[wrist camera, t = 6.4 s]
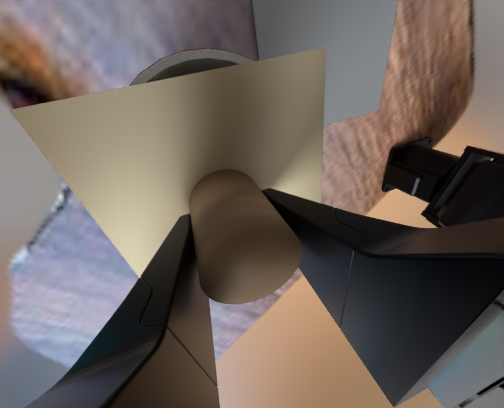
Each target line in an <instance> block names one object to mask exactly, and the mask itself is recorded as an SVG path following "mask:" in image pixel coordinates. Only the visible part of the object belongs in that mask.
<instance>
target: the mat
mask: <svg viewBox="0 0 504 408" xmlns="http://www.w3.org/2000/svg"><path fill="white" fill-rule="evenodd" d="M397 4H398V0H252V9H253V17H254V26H255V34H256V43H257V51H258V60H264V59H269V58H274V57H279V56H284V55H289V54H294V53H299V52H304V51H309V50H314V49H319V48H325V47H326V73H325V100H324V125H327V124H331V123H335V122H338V121H342V120H346V119H349V118H353V117H357V116H360V115H364V114H368V113H371V112H375V111H378V110H379V105H380V99H381V94H382V88H383V82H384V77H385V71H386V65H387V60H388V54H389V49H390V43H391V37H392V32H393V26H394V20H395V15H396V9H397Z"/></svg>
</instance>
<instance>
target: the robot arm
mask: <svg viewBox="0 0 504 408" xmlns="http://www.w3.org/2000/svg"><path fill="white" fill-rule="evenodd" d="M432 142H433V138H432V137H426V138H423V139H420V140H417V141H414V142H411V143H407V144H404V145H401V146H398V147H395V148H393V149H392V150H391V152H390V156H389V160H388V164H387V169H386V173H385V177H384V182H383V186H382V191H384V192H388V191H391V190H393V189H396V188H397V189H399V190H401V191H403V192H405V193H407V194H409V195H411V196H415V197H417V198H419V199H421V200H423V201H425V202H427V203H429V204H428V206H427V207H426V209H425V210H424V211H423V212H422V213H421V215H423V216H424V217H426V219H427V220H428V221H429V222H431V223H432V224H434V225H435V226H436V227H438V228H417V227H412V226H407V225H402V224H398V223H393V222H389V221H385V220H380V219H376V218H372V217H367V216H363V215H359V214H355V213H352V212H348V211H345V210H341V209H338V208H334V207H331V206H328V205H325V204H321V203H318V202H315V201H312V200H308V199H305V198H302V197H298V196H295V195H292V194H288V193H285V192H282V191H278V190H275V189H272V188H267V189H264V190H262V192H263V194H264V195H265V196H266V198H267V199H268V200H269V201H270V203H271V204H272V205H273V206H274V208H275V209H276V210H277V212H278V213H279V214H280V215H281V217H282V218H283V219H284V221H285V222H286V223H287V224H288V226H289V227H290V228H291V230H292V231H293V232H294V233H295V235H296V236H297V237H298V239H299V241H300V243H301V247H302V256H301V260H300V263H299V265H298V267H299V269H300V270H301V272H302V273H303V275H304V276H305V278H306V279H307V281H308V282H309V283H310V285H311V286H312V288H313V289H314V291H315V292H316V294H317V295H318V297H319V298H320V300H321V301H322V303H323V304H324V305H325V307H326V308H327V310H328V311H329V313H330V314H331V316H332V317H333V319H334V320H335V322H336V323H337V325H338V326H339V327H340V328H341V331H342V332H343V334H344V335H345V337H346V338H347V340H348V341H349V343H350V344H351V346H352V347H353V349H354V350H355V351H356V353H357V354H358V356H359V357H360V359H361V360H362V362H363V363H364V365H365V366H366V368H367V369H368V371H369V372H370V374H371V375H372V376H373V378H374V380H375V381H376V382H377V384H378V385H379V387H380V388H381V390H382V391H383V393H384V394H385V395H386V397H387V399H388V400H389V402H390V403H391V404H392V406H393V407H396V406H398V405H399V404H401V403H403V402H404V401H406V400H408V399H409V398H411V397H413V396H414V395H416V394H418V393H420V392H421V391H423V390H425V389H426V388H428V389H429V390H430V391H431V393H432V394H433V395H434V396H435V397H436V398H437V400H438V401H439V402H440V403H441V405H442V406H443V407H444V408H504V153H500V152H495V151H492V150H487V149H482V148H477V147H471V146H467V147H466V148H465V150H464V153H463V154H462V156H461V157H459V156H455V155H452V154H448V153H444V152H441V151H438V150H434V149H431V145H432ZM491 158H494V159H493V161H490V160H491ZM140 277H141V278H139V279H138V280H137V282H136V283H135V285H134V287H133V288H132V289H131V291H130V292H129V294H128V295H127V297H126V298H125V300H124V301H123V302H122V304H121V305H120V306H119V308H118V309H117V310H116V312H115V313H114V314H113V316H112V317H111V318H110V319H109V321H108V322H107V323H106V325H105V326H104V327H103V328H102V330H101V331H100V332H99V333H98V335H97V336H96V337H95V339H94V340H93V341H92V342H91V344H90V345H89V346H88V347H87V349H86V350H85V351H84V353H83V354H82V355H81V356H80V358H79V359H78V360H77V362H76V363H75V364H74V365H73V366H72V368H71V369H70V370H69V371H68V372H67V373H66V374H65V375H64V376H63V377H62V378H61V380H59V381H58V382H57V383H56V384H55V385H54V386H53V387H52V388H50V389H49V390H48V391H47V392H45V393H44V394H43V395H41V396H40V397H39V398H37V399H36V400H34V401H33V402H31V403H30V404H28V405H27V406H26V407H24V408H220V405H219V396H218V388H217V376H216V366H215V356H214V346H213V336H212V326H211V316H210V306H209V297H208V296H207V295H206V294H205V293H204V292H203V291H202V289H201V286H200V283H199V276H198V269H197V261H196V254H195V246H194V239H193V231H192V224H191V216H190V214H185V215H182V216H180V217H179V218H178V220H177V222H176V223H175V225H174V226H173V228H172V229H171V231H170V232H169V234H168V235H167V237H166V238H165V240H164V241H163V243H162V244H161V246H160V247H159V249H158V250H157V252H156V253H155V255H154V256H153V258H152V259H151V261H150V262H149V264H148V265H147V267H146V268H145V270H144V272H143V273H142V275H141V276H140Z"/></svg>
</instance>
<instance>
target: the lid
mask: <svg viewBox="0 0 504 408" xmlns="http://www.w3.org/2000/svg"><path fill="white" fill-rule="evenodd" d="M325 73H326V47H325V48H319V49H314V50H309V51H304V52H299V53H294V54H289V55H284V56H279V57H274V58H269V59H264V60H259V61H254V62H249V63H244V64H239V65H234V66H229V67H224V68H219V69H214V70H209V71H204V72H199V73H194V74H188V75H183V76H178V77H173V78H168V79H163V80H158V81H153V82H148V83H143V84H138V85H133V86H128V87H123V88H118V89H113V90H108V91H103V92H98V93H93V94H88V95H83V96H78V97H73V98H68V99H63V100H58V101H53V102H48V103H43V104H38V105H33V106H28V107H23V108H18V109H13V110H10V111H11V113H12V114H13V115H14V117H15V118H16V119H17V121H18V122H19V123H20V124H21V126H22V127H23V128H24V130H25V131H26V132H27V133H28V135H29V136H30V137H31V139H32V140H33V141H34V142H35V144H36V145H37V146H38V148H39V149H40V150H41V151H42V153H43V154H44V155H45V157H46V158H47V159H48V160H49V162H50V163H51V164H52V166H53V167H54V168H55V169H56V171H57V172H58V173H59V175H60V176H61V177H62V179H63V180H64V181H65V182H66V184H67V185H68V186H69V188H70V189H71V190H72V191H73V193H74V194H75V195H76V197H77V198H78V199H79V200H80V202H81V203H82V204H83V206H84V207H85V208H86V209H87V211H88V212H89V213H90V215H91V216H92V217H93V218H94V220H95V221H96V222H97V224H98V225H99V226H100V228H101V229H102V230H103V231H104V233H105V234H106V235H107V237H108V238H109V239H110V240H111V242H112V243H113V244H114V246H115V247H116V248H117V249H118V251H119V252H120V253H121V255H122V256H123V257H124V258H125V260H126V261H127V262H128V264H129V265H130V266H131V267H132V269H133V270H134V271H135V273H136V274H137V275H138V276H139V278H141V277H140V276H141V275H142V273H143V272H144V270H145V268H146V267H147V265H148V264H149V262H150V261H151V259H152V258H153V256H154V255H155V253H156V252H157V250H158V249H159V247H160V246H161V244H162V243H163V241H164V240H165V238H166V237H167V235H168V234H169V232H170V231H171V229H172V228H173V226H174V225H175V223H176V222H177V220H178V218H179V217H180V216H182V215H185V214H190V216H191V224H192V231H193V239H194V246H195V254H196V261H197V269H198V276H199V283H200V286H201V289H202V291H203V292H204V293H205V294H206V295H207V296H208V297H209V298H210V299H212V300H214V301H216V302H220V303H224V304H242V303H248V302H252V301H255V300H258V299H261V298H263V297H265V296H267V295H269V294H271V293H273V292H274V291H276V290H277V289H278V288H280V287H281V286H282V285H283V284H285V283H286V282H287V281H288V280H289V279H290V278H291V276H292V275H293V274H294V272H295V271H296V269H297V267H298V265H299V263H300V260H301V256H302V247H301V243H300V241H299V239H298V237H297V236H296V235H295V233H294V232H293V231H292V230H291V228H290V227H289V226H288V224H287V223H286V222H285V221H284V219H283V218H282V217H281V215H280V214H279V213H278V212H277V210H276V209H275V208H274V206H273V205H272V204H271V203H270V201H269V200H268V199H267V198H266V196H265V195H264V194H263V192H262V190H264V189H267V188H272V189H275V190H278V191H282V192H285V193H288V194H292V195H295V196H298V197H302V198H305V199H308V200H312V201H315V202H318V203H321V182H322V155H323V128H324V100H325Z"/></svg>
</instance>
